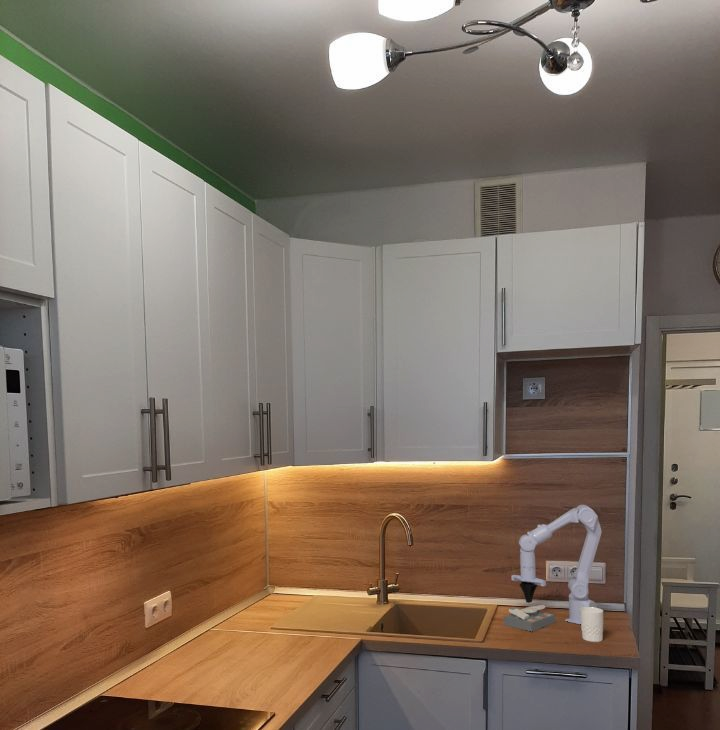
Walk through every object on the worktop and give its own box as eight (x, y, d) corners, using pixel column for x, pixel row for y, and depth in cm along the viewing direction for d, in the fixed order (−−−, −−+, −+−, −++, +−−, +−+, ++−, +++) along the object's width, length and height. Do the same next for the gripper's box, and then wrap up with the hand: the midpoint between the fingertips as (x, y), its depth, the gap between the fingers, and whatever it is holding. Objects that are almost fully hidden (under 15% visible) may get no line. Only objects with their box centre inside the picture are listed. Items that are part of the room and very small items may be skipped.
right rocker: (545, 607, 251) (544, 604, 251) (540, 609, 248) (539, 605, 249) (530, 609, 256) (529, 605, 256) (525, 611, 253) (524, 607, 254)
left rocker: (529, 618, 243) (530, 614, 243) (523, 620, 241) (524, 616, 241) (513, 609, 249) (514, 606, 249) (508, 611, 246) (508, 608, 246)
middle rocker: (537, 610, 247) (537, 607, 248) (532, 612, 245) (531, 608, 245) (522, 611, 252) (521, 608, 252) (517, 613, 249) (516, 609, 250)
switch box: (555, 623, 248) (554, 613, 249) (531, 632, 237) (531, 621, 238) (528, 616, 257) (527, 606, 257) (504, 624, 246) (503, 614, 247)
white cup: (576, 639, 230) (575, 609, 231) (587, 634, 235) (586, 605, 236) (598, 644, 224) (596, 614, 225) (608, 639, 229) (607, 609, 230)
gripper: (506, 565, 258) (507, 600, 257) (538, 570, 248) (539, 607, 246) (516, 562, 263) (517, 597, 262) (548, 568, 252) (549, 604, 251)
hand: (529, 602), depth 254 cm, fingers closed
